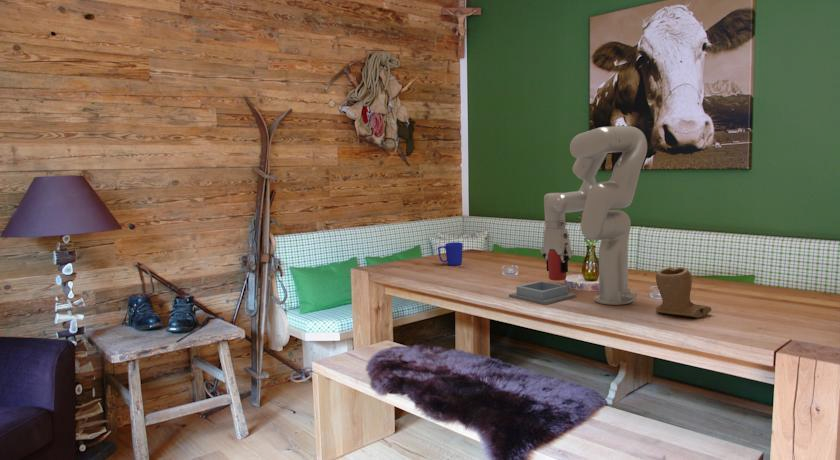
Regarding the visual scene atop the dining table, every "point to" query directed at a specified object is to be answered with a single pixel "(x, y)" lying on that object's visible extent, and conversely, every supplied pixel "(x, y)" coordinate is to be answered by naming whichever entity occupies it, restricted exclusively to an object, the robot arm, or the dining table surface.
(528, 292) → the box
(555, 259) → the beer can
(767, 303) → the dining table surface
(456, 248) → the mug
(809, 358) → the dining table surface
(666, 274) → the brown l-shaped piece
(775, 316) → the dining table surface
